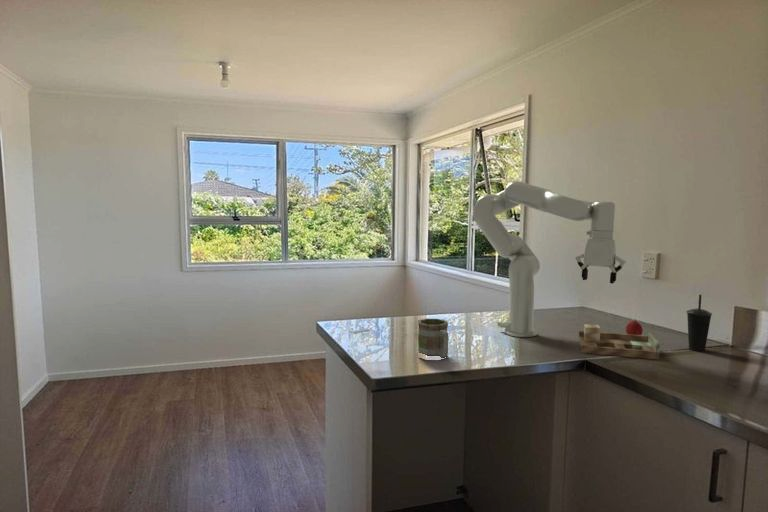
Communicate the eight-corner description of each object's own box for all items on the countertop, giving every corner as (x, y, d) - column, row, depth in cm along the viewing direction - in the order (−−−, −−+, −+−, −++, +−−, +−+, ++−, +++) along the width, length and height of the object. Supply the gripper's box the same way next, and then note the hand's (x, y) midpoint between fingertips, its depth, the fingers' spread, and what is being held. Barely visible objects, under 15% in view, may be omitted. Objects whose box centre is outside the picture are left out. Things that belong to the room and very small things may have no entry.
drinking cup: (705, 347, 171) (709, 293, 169) (712, 353, 164) (716, 297, 162) (681, 345, 173) (684, 292, 171) (687, 351, 166) (691, 295, 164)
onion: (644, 341, 179) (645, 321, 178) (627, 340, 180) (628, 320, 179) (639, 337, 184) (640, 317, 183) (623, 336, 185) (624, 317, 185)
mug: (411, 353, 165) (411, 319, 163) (439, 350, 168) (439, 317, 167) (431, 367, 150) (431, 330, 149) (461, 363, 154) (461, 327, 153)
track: (581, 352, 165) (582, 337, 164) (578, 342, 178) (579, 327, 178) (659, 359, 157) (659, 343, 157) (649, 347, 170) (650, 333, 170)
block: (584, 340, 171) (585, 327, 171) (583, 337, 176) (584, 324, 175) (599, 341, 170) (600, 328, 169) (598, 338, 174) (598, 325, 174)
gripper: (573, 234, 175) (570, 279, 177) (624, 237, 163) (620, 285, 165) (581, 233, 180) (578, 277, 182) (630, 236, 169) (626, 283, 171)
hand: (598, 281), depth 174 cm, fingers open, 9 cm apart
